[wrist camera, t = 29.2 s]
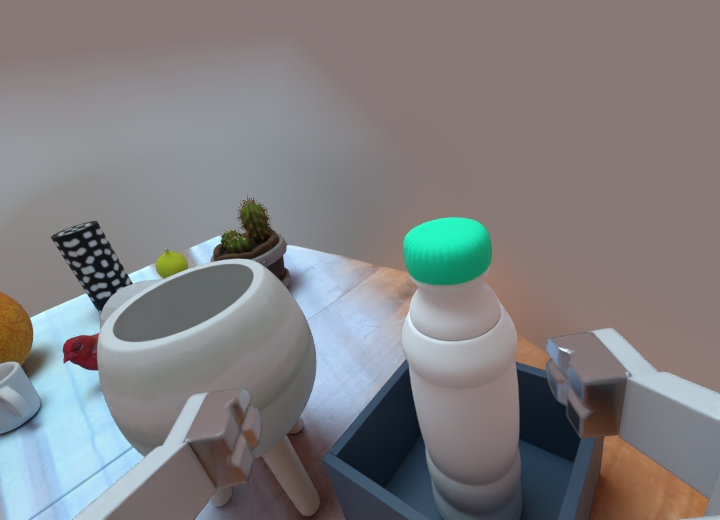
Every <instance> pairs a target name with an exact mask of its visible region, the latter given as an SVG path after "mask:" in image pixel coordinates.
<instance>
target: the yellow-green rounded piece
mask: <svg viewBox="0 0 720 520" xmlns="http://www.w3.org/2000/svg"><path fill="white" fill-rule="evenodd" d="M187 269H188V263H187V260H186V258H185V257H184V256H183V255H181V254H180V253H177V252H170V251H169V250H168V248H167V247H165V253H164V254H163V255H162V256H160V257H159V259H158V260H157V263H156V270H157V272H158V274H159V275H160V276H161V277H162V278H164V279H165V278H167V277H170V276H172V275H174V274H177V273H179V272H182V271H184V270H187Z"/></svg>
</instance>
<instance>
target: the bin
mask: <svg viewBox="0 0 720 520" xmlns="http://www.w3.org/2000/svg"><path fill="white" fill-rule="evenodd" d="M515 364H516V370H517V379H518V392H519V441H518V448H519V452H520V458H521V477H520V481H521V487H522V513H521V517H520V519H519V520H589V518H590V514H591V510H592V505H593V501H594V497H595V493H596V489H597V484H598V480H599V476H600V470H601V461H602V451H603V442H604V436H603V437H594V438H584V439H580V437H579V436H578V434H577V432H576V431H575V429H574V427H573V426H572V424H571V423H570V421H569V419H568V418H567V416H566V406H565V405H563V404H562V403H560V402H558V401H557V400H556V398H555V396H554V395H553V393H552V391H551V388H550V386H549V383H548V379H547V375H546V371H545V370H542V369H538V368H535V367H531V366H528V365H525V364H521V363H518V362H515ZM322 461H323V464H324V466H325V469H326V471H327V474H328V476H329V478H330V481H331V483H332V486H333V488H334V491H335V493H336V496H337V498H338V500H339V503H340V505H341V508H342V510H343V513H344V515H345V518H346V520H443V518H442V517H441V515H440V513H439V511H438V509H437V506H436V503H435V499H434V495H433V489H432V480H431V476H430V472H429V469H428V465H427V460H426V446H425V443H424V440H423V437H422V433H421V430H420V425H419V421H418V417H417V413H416V408H415V403H414V398H413V392H412V387H411V380H410V371H409V363H408V361H407V360H405V361H404V362H403V363H402V365H401V366H400V367H399V368H398V369H397V371H396V372H395V373H394V374H393V375H392V377H391V378H390V379H389V380H388V381H387V382H386V384H385V385H384V386H383V387H382V388H381V390H380V391H379V392H378V393H377V394H376V396H375V397H374V398H373V399H372V400H371V402H370V403H369V404H368V405H367V406H366V407H365V409H364V410H363V411H362V412H361V413H360V415H359V416H358V417H357V418H356V419H355V421H354V422H353V423H352V424H351V425H350V427H349V428H348V429H347V430H346V431H345V432H344V434H343V435H342V436H341V437H340V438H339V440H338V441H337V442H336V443H335V444H334V446H333V447H332V448H331V449H330V450H329V452H328V453H327V454H326V455H325V456H324V457H323V459H322Z"/></svg>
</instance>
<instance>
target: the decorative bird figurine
mask: <svg viewBox="0 0 720 520" xmlns="http://www.w3.org/2000/svg"><path fill="white" fill-rule="evenodd" d="M98 337H99V333H98V334H95V335H93V336H87V335H80V336H77V337H74V338H71V339H69V340H67V341H66V342H65V344H64V346H63V353H64V363H65V362H67V361H69V360H70V361H71V362H72V363H74V364H77V365H79V366H81V367H83V368H85V369H88V370H98V364H97V344H98Z"/></svg>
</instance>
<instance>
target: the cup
mask: <svg viewBox="0 0 720 520" xmlns="http://www.w3.org/2000/svg"><path fill="white" fill-rule="evenodd" d="M40 404H41V401H40V397H39V395H38V394H37V392H36V390H35V389H34V387H33V385H32V384H31V382H30V380H29V379H28V377H27V375H26V374H25V372H24V371H23V369H22V367H21V366H20V364H19V363H17V362H6V363H2V364H0V434H1V433H5V432H8V431H11V430H13V429H15V428H17V427H19V426H20V425H22V424H23V423H25V422H26V421H28V420H29V419H30V418H31V417H32V416H33V415H34V414H35V413H36V412H37V411H38V409H39V407H40Z"/></svg>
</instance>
